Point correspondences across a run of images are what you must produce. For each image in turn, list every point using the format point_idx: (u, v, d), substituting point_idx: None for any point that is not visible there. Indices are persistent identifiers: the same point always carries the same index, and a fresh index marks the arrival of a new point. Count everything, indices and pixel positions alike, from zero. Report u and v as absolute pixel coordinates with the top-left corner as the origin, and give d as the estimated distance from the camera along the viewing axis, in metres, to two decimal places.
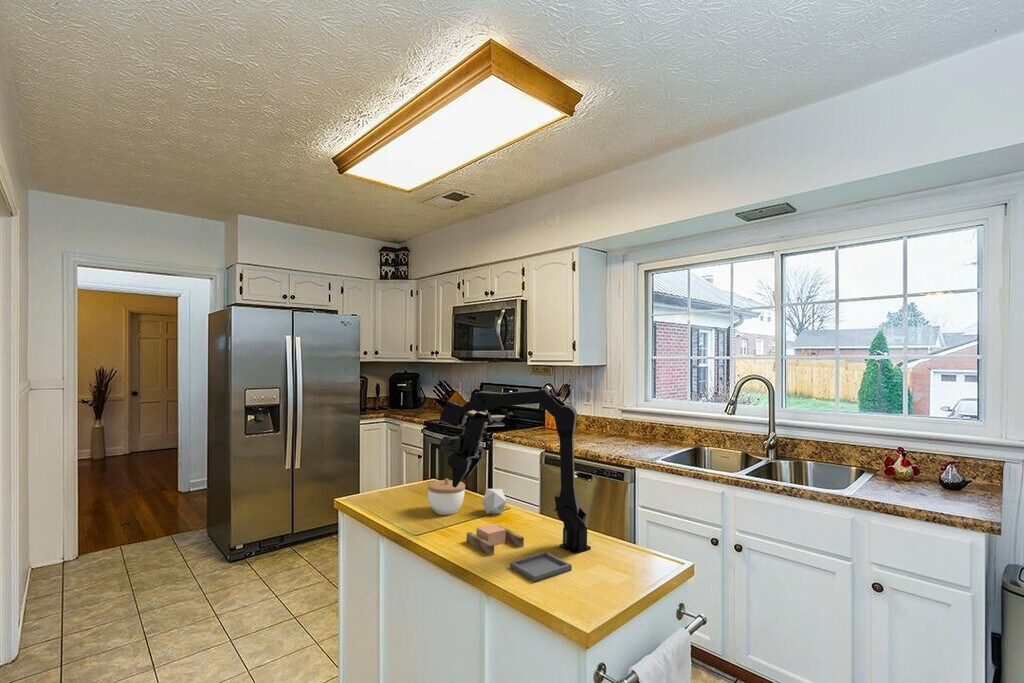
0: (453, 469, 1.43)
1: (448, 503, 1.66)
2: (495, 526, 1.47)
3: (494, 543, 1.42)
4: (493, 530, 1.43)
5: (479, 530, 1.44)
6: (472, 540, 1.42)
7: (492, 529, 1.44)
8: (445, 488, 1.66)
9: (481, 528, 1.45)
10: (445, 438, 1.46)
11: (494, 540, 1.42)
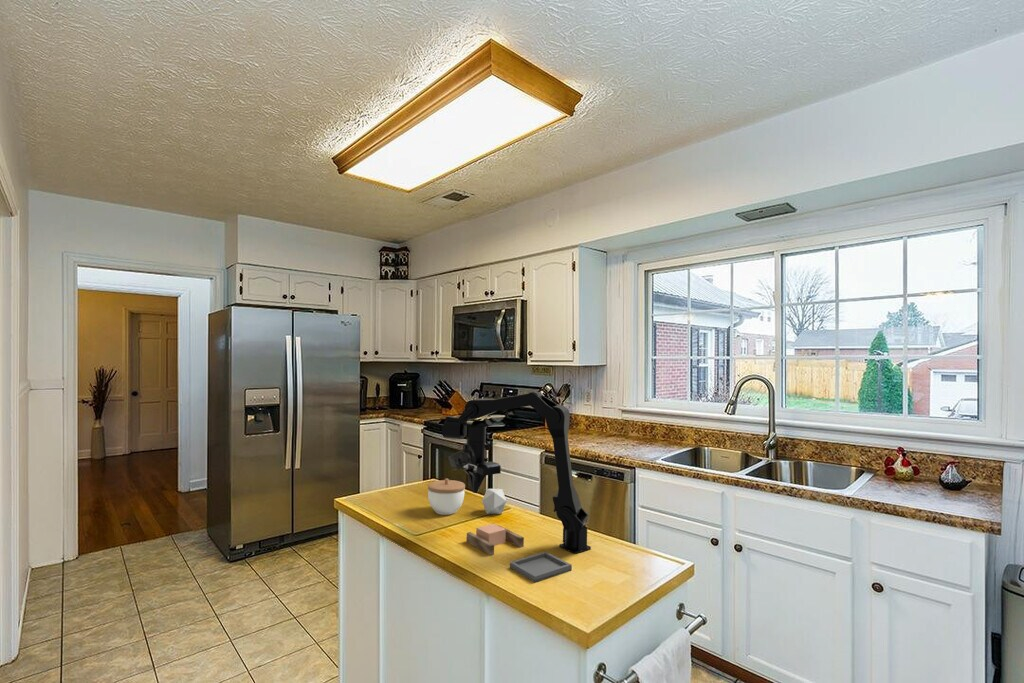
0: (475, 476, 1.50)
1: (448, 503, 1.66)
2: (495, 526, 1.47)
3: (494, 543, 1.42)
4: (493, 530, 1.43)
5: (479, 530, 1.44)
6: (472, 540, 1.42)
7: (492, 529, 1.44)
8: (445, 488, 1.66)
9: (481, 528, 1.45)
10: (465, 455, 1.45)
11: (495, 540, 1.42)
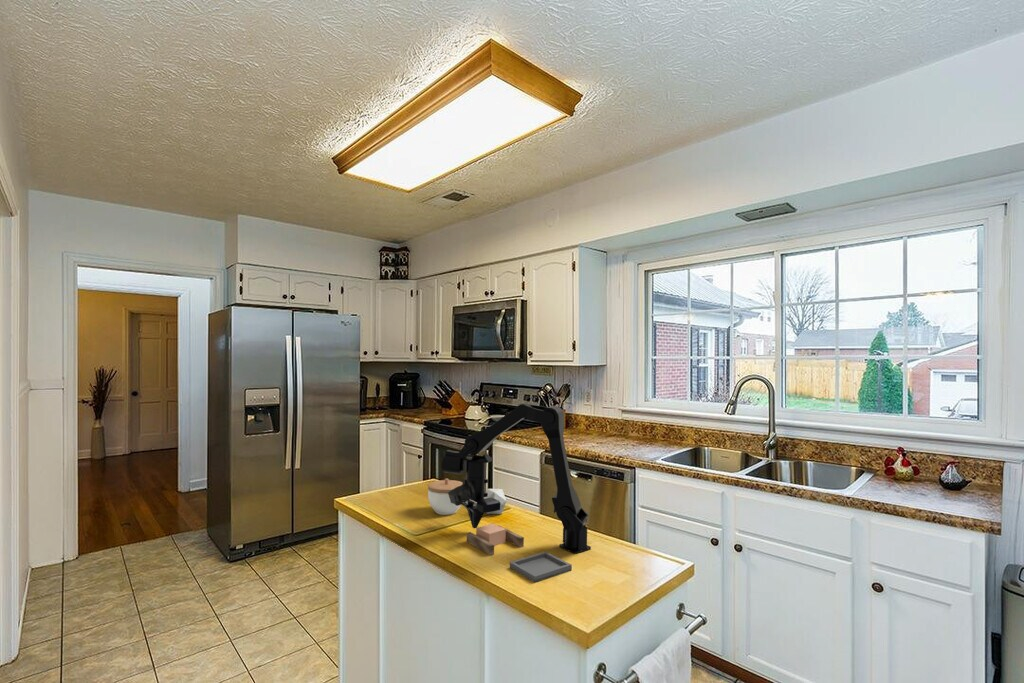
0: (475, 512, 1.50)
1: (448, 503, 1.66)
2: (495, 526, 1.47)
3: (495, 543, 1.42)
4: (493, 530, 1.43)
5: (479, 530, 1.44)
6: (472, 540, 1.42)
7: (493, 529, 1.44)
8: (445, 488, 1.66)
9: (481, 528, 1.45)
10: (464, 492, 1.45)
11: (495, 540, 1.42)
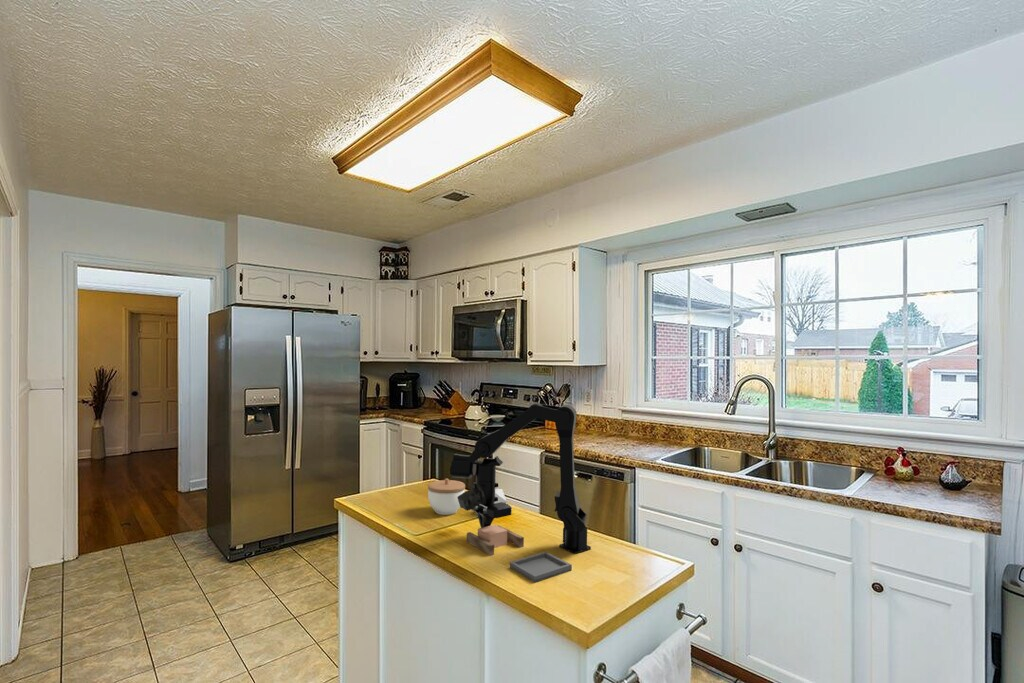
0: (485, 517, 1.45)
1: (448, 503, 1.66)
2: (496, 527, 1.46)
3: (496, 544, 1.41)
4: (494, 531, 1.42)
5: (480, 531, 1.43)
6: (472, 540, 1.42)
7: (494, 530, 1.43)
8: (445, 488, 1.66)
9: (482, 529, 1.43)
10: (475, 497, 1.41)
11: (496, 541, 1.41)
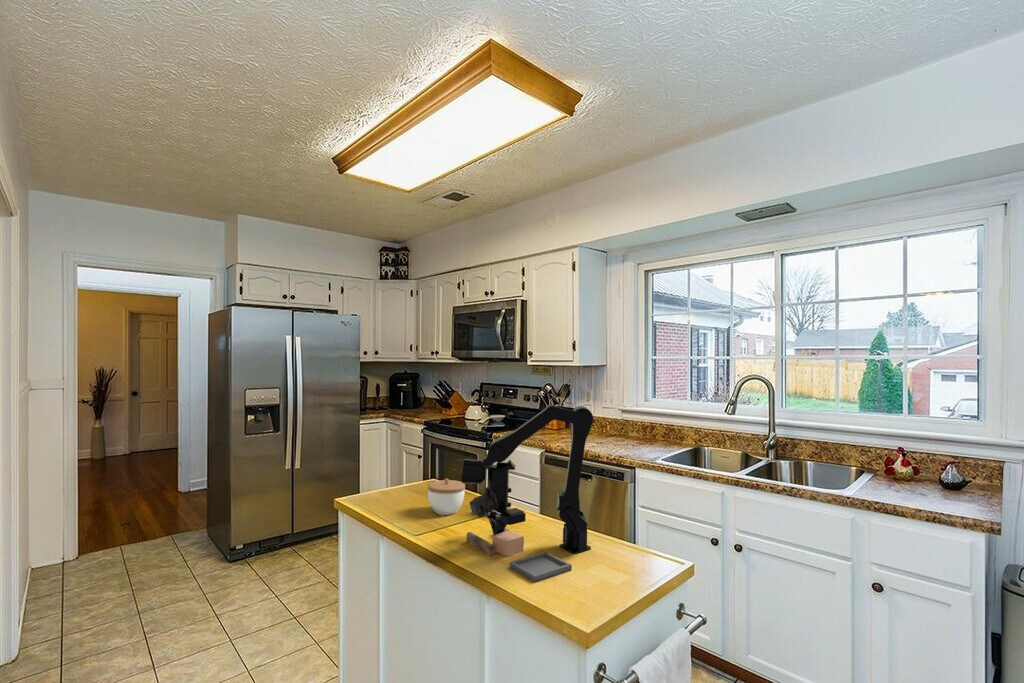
0: (498, 523, 1.40)
1: (448, 503, 1.66)
2: (511, 533, 1.41)
3: (513, 551, 1.36)
4: (511, 538, 1.37)
5: (496, 538, 1.38)
6: (472, 540, 1.42)
7: (510, 536, 1.38)
8: (445, 488, 1.66)
9: (498, 536, 1.38)
10: (487, 502, 1.35)
11: (513, 548, 1.36)
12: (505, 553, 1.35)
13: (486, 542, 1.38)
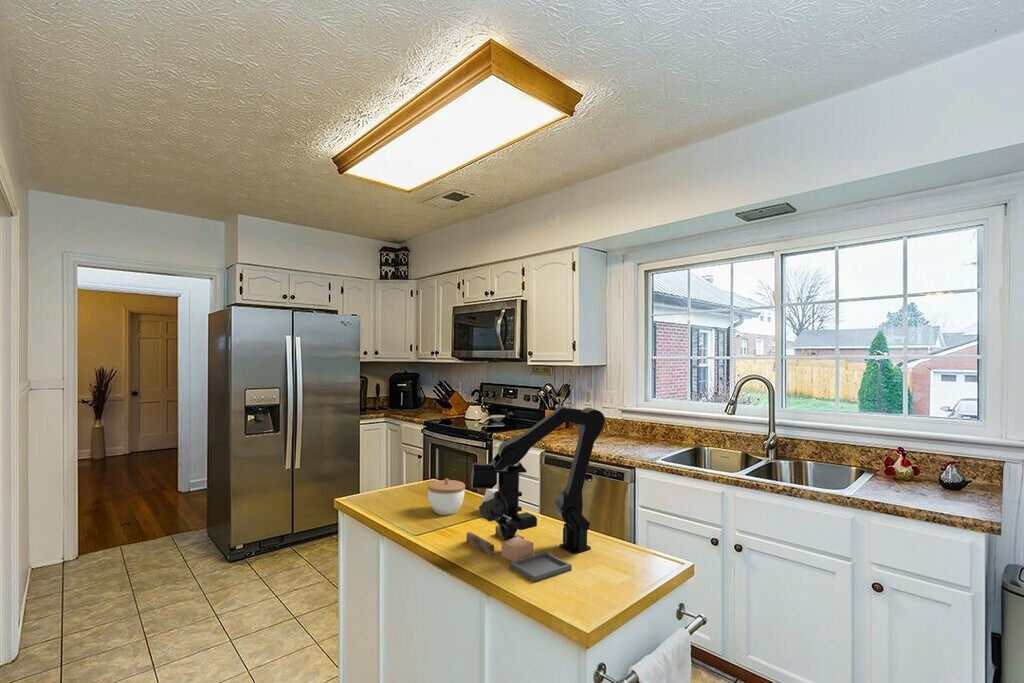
0: (508, 528, 1.36)
1: (448, 503, 1.66)
2: (521, 539, 1.37)
3: None
4: (520, 544, 1.33)
5: (505, 544, 1.34)
6: (472, 540, 1.42)
7: (519, 543, 1.34)
8: (445, 488, 1.66)
9: (507, 542, 1.35)
10: (498, 507, 1.32)
11: (523, 555, 1.32)
12: (514, 560, 1.31)
13: (486, 542, 1.38)
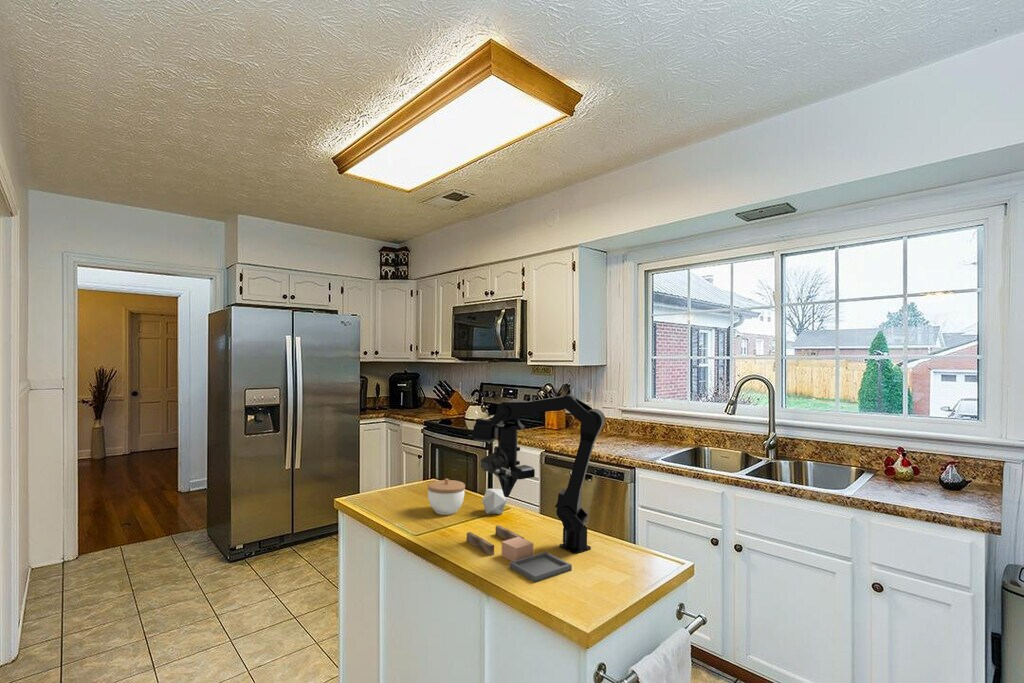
0: (508, 480, 1.46)
1: (448, 503, 1.66)
2: (521, 539, 1.37)
3: None
4: (520, 544, 1.33)
5: (505, 544, 1.34)
6: (472, 540, 1.42)
7: (519, 543, 1.34)
8: (445, 488, 1.66)
9: (507, 542, 1.34)
10: (499, 459, 1.41)
11: (522, 555, 1.32)
12: (514, 560, 1.31)
13: (486, 542, 1.38)
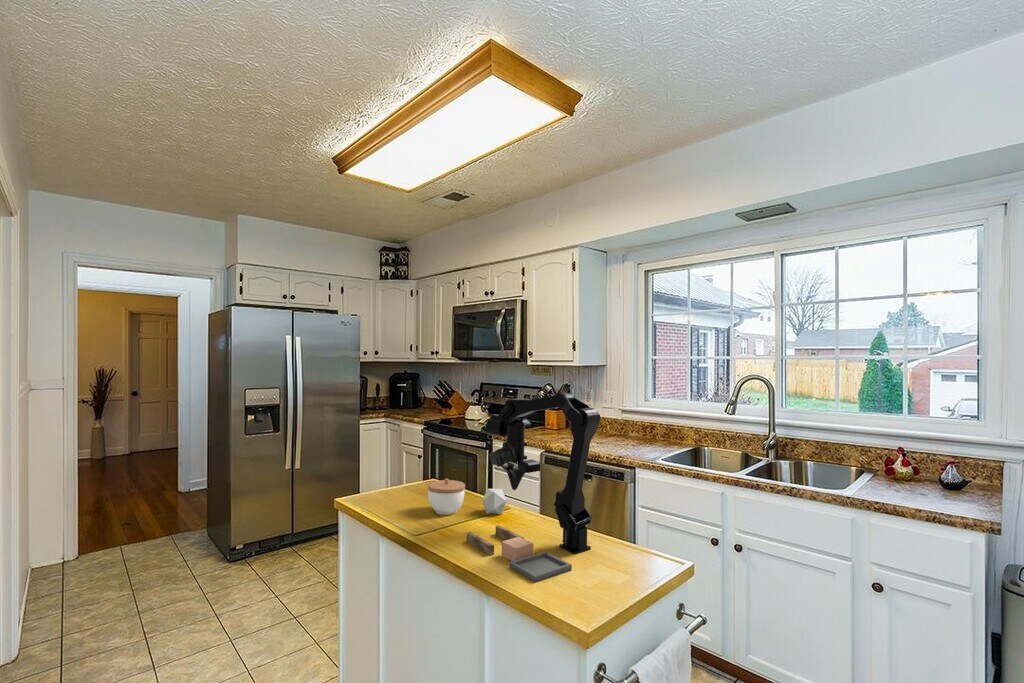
0: (515, 474, 1.54)
1: (448, 503, 1.66)
2: (521, 539, 1.37)
3: None
4: (520, 544, 1.33)
5: (505, 544, 1.34)
6: (472, 540, 1.42)
7: (519, 543, 1.34)
8: (445, 488, 1.66)
9: (507, 542, 1.35)
10: (506, 453, 1.49)
11: (522, 555, 1.32)
12: (513, 560, 1.31)
13: (486, 542, 1.38)
